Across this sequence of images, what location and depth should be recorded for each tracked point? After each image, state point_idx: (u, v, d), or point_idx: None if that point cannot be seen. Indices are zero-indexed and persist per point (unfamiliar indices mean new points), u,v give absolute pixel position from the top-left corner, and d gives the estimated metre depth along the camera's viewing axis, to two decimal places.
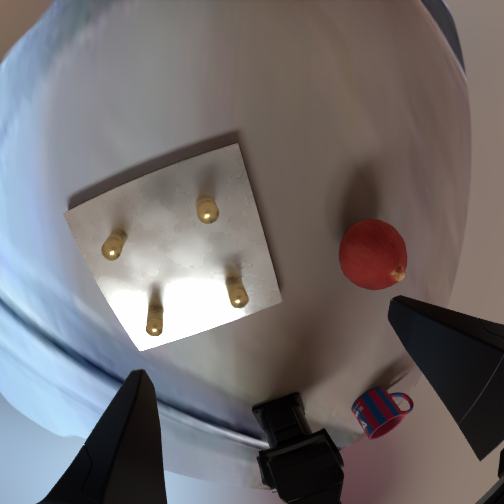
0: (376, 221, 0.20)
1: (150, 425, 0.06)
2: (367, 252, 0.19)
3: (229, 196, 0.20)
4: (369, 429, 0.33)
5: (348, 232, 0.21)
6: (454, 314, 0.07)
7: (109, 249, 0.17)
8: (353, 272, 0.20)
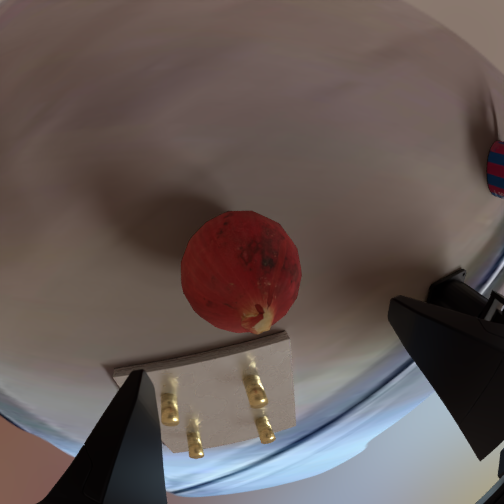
0: (181, 273, 0.13)
1: (150, 425, 0.06)
2: (220, 328, 0.12)
3: (161, 385, 0.19)
4: None
5: None
6: (454, 314, 0.07)
7: (195, 456, 0.20)
8: None
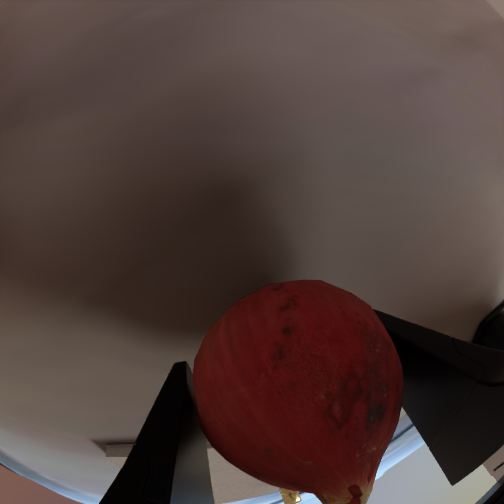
0: (194, 396, 0.06)
1: (197, 418, 0.07)
2: None
3: None
4: None
5: None
6: (424, 331, 0.07)
7: None
8: None
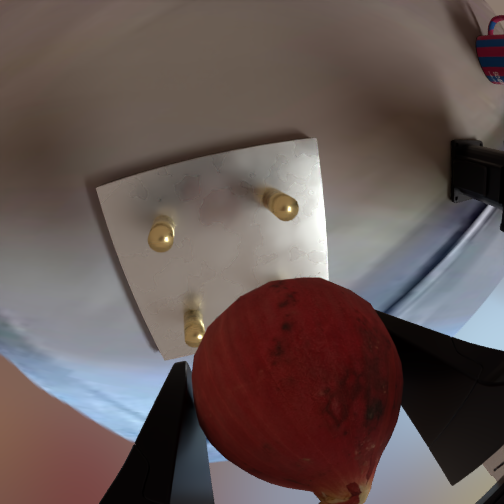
0: (193, 393, 0.07)
1: (197, 418, 0.07)
2: None
3: (156, 198, 0.16)
4: None
5: None
6: (425, 331, 0.07)
7: (193, 340, 0.17)
8: None
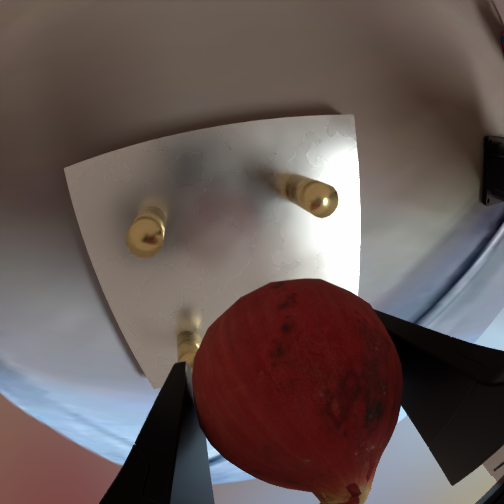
0: (193, 394, 0.07)
1: (197, 418, 0.07)
2: None
3: (142, 182, 0.11)
4: None
5: None
6: (424, 331, 0.07)
7: None
8: None
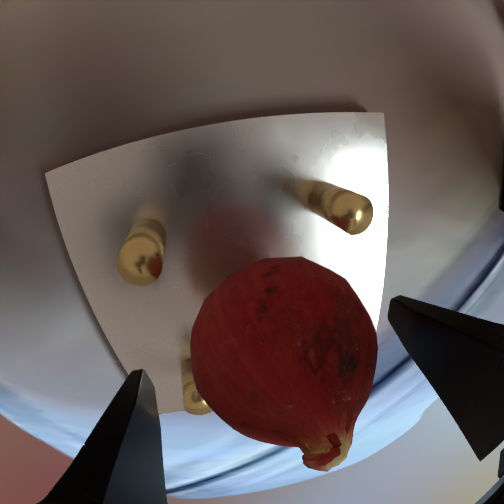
0: (191, 358, 0.08)
1: (150, 425, 0.06)
2: None
3: (136, 189, 0.09)
4: None
5: None
6: (454, 314, 0.07)
7: (196, 407, 0.10)
8: None
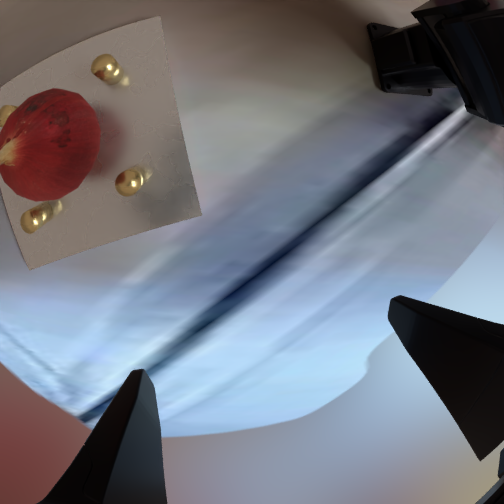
0: None
1: (150, 425, 0.06)
2: (16, 193, 0.09)
3: (21, 94, 0.11)
4: None
5: None
6: (454, 314, 0.07)
7: (27, 223, 0.12)
8: (52, 197, 0.10)
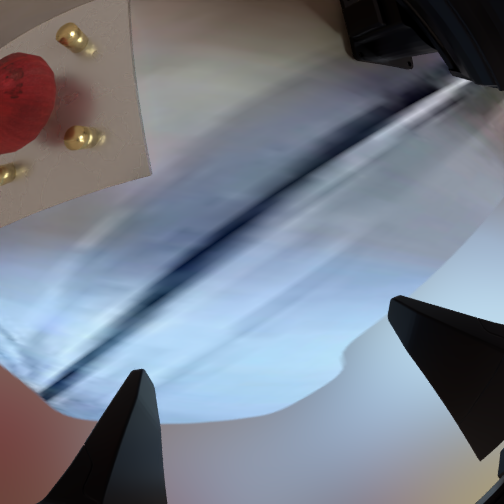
0: None
1: (150, 425, 0.06)
2: None
3: None
4: None
5: None
6: (454, 314, 0.07)
7: None
8: (5, 147, 0.09)
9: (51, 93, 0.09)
